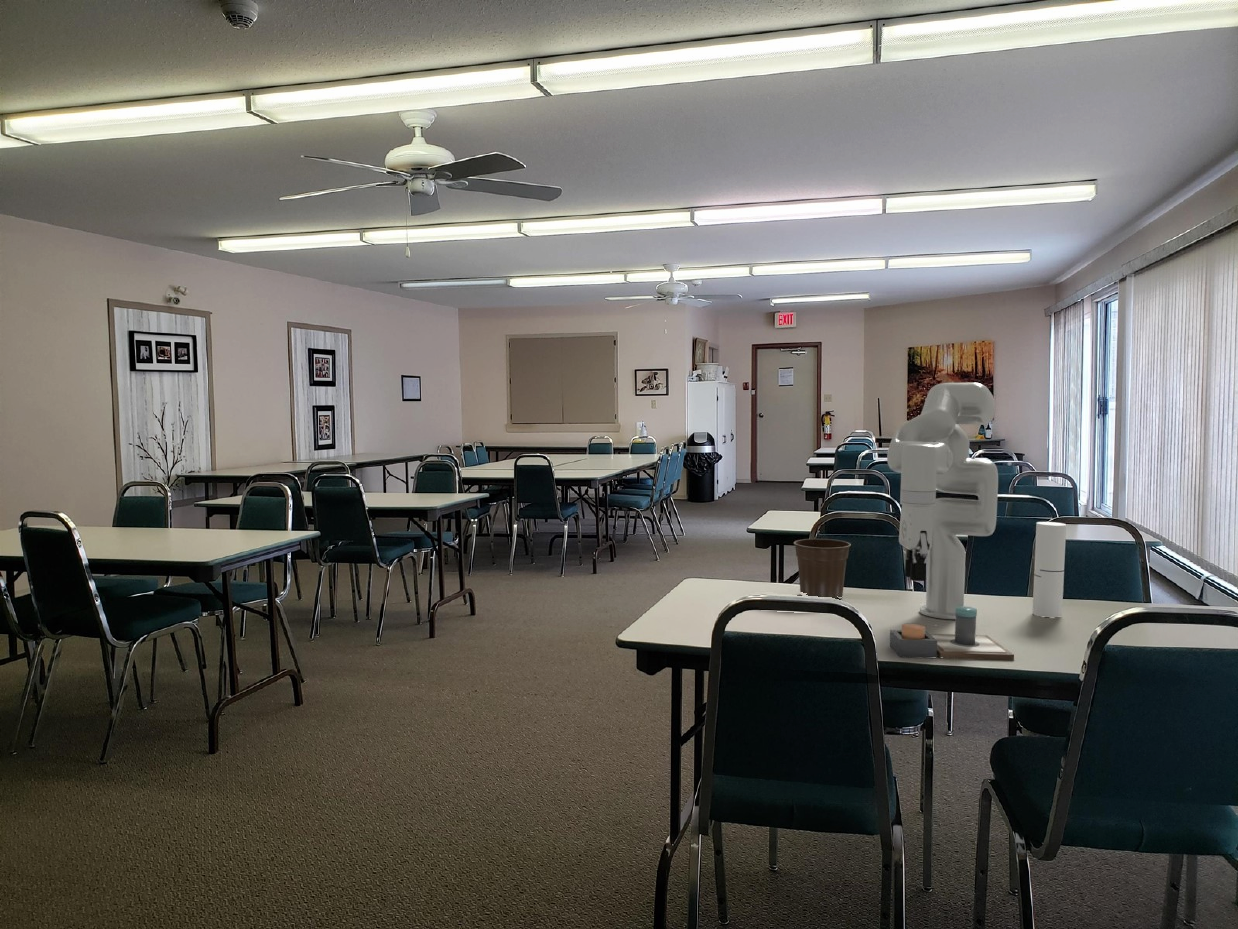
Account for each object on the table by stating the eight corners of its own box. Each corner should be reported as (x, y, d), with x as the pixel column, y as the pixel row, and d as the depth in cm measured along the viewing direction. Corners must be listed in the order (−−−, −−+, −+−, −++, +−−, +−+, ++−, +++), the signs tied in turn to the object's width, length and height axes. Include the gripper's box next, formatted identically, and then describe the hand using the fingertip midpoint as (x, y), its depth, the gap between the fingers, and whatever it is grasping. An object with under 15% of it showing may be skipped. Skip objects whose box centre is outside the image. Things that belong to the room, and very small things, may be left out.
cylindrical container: (1054, 619, 223) (1059, 526, 221) (1027, 614, 228) (1031, 523, 226) (1066, 615, 227) (1070, 524, 225) (1039, 610, 233) (1043, 521, 231)
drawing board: (919, 638, 203) (919, 632, 203) (986, 640, 202) (986, 634, 202) (940, 658, 187) (940, 651, 187) (1013, 660, 186) (1014, 653, 186)
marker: (951, 639, 197) (952, 606, 197) (971, 640, 197) (972, 606, 196) (958, 645, 193) (959, 610, 192) (978, 645, 192) (979, 611, 192)
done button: (898, 638, 194) (899, 623, 194) (920, 638, 194) (921, 624, 193) (904, 644, 189) (905, 629, 189) (927, 645, 189) (928, 629, 188)
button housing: (889, 646, 196) (890, 629, 196) (925, 647, 195) (925, 630, 195) (899, 657, 188) (899, 639, 187) (936, 658, 187) (937, 640, 187)
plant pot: (800, 603, 239) (801, 547, 237) (786, 590, 255) (788, 538, 254) (856, 603, 239) (858, 547, 238) (839, 590, 255) (841, 538, 254)
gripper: (891, 494, 197) (888, 571, 199) (911, 502, 181) (908, 586, 182) (923, 494, 197) (921, 571, 198) (946, 502, 181) (943, 586, 182)
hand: (915, 577), depth 190 cm, fingers open, 3 cm apart
